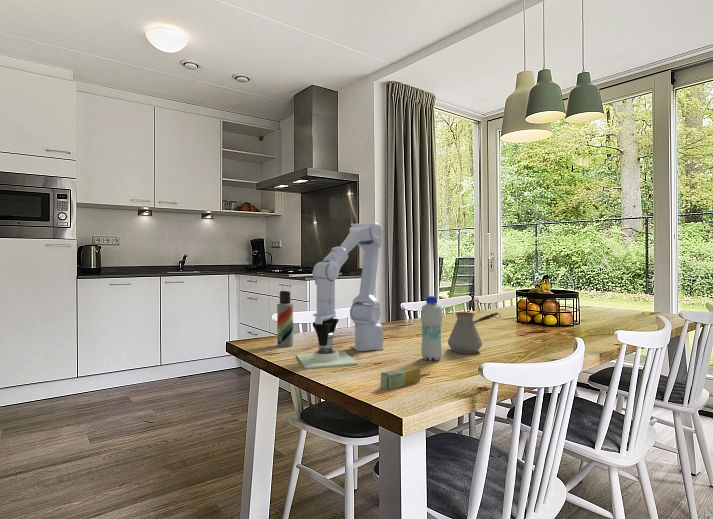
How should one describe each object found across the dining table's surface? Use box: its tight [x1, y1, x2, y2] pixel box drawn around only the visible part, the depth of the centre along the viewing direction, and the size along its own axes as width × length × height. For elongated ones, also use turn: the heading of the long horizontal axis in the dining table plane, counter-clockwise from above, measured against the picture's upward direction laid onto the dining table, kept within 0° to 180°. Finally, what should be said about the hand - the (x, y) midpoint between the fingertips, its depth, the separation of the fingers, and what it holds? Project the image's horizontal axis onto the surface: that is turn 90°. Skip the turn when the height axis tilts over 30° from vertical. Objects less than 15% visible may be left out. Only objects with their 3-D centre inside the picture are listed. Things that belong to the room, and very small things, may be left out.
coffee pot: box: [447, 311, 501, 354], centre depth 145 cm, size 21×12×15 cm, turn 27°
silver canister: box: [318, 331, 335, 354], centre depth 137 cm, size 5×5×6 cm
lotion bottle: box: [276, 290, 294, 348], centre depth 159 cm, size 6×6×20 cm
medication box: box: [379, 365, 421, 391], centre depth 112 cm, size 12×3×4 cm, turn 129°
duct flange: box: [295, 349, 359, 370], centre depth 137 cm, size 16×16×3 cm
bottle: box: [420, 295, 443, 362], centre depth 138 cm, size 7×7×20 cm
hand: (326, 343), depth 137 cm, fingers closed on silver canister, 5 cm apart
